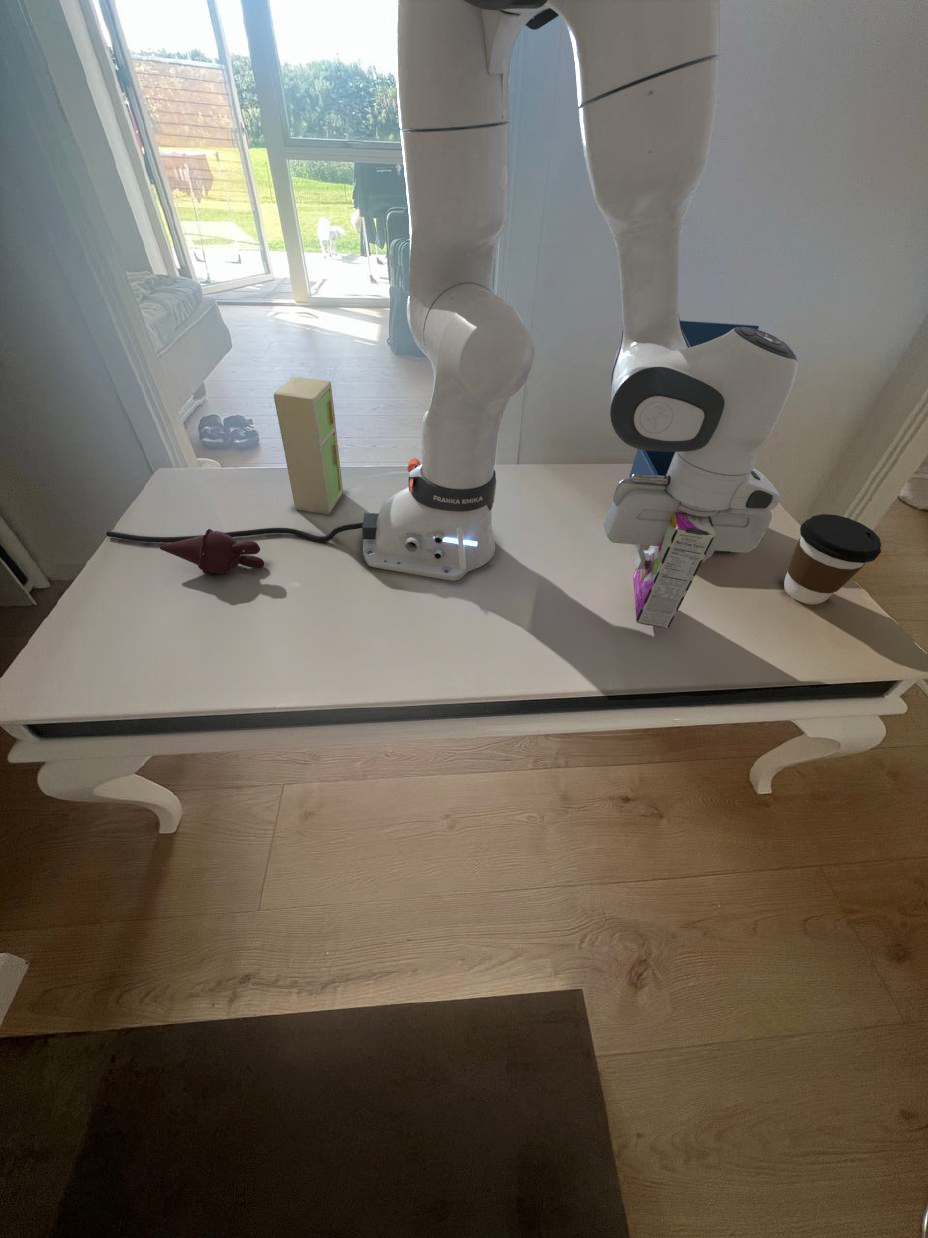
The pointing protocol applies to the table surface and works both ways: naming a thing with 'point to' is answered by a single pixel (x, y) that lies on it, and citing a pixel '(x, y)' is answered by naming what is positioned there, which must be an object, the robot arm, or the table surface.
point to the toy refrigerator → (310, 443)
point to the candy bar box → (671, 569)
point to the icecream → (216, 552)
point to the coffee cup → (828, 557)
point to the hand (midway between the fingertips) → (664, 568)
